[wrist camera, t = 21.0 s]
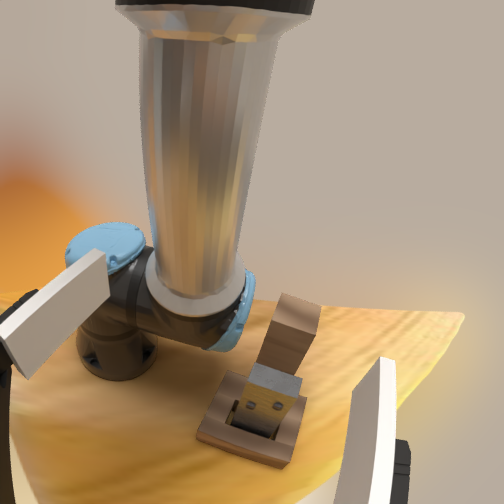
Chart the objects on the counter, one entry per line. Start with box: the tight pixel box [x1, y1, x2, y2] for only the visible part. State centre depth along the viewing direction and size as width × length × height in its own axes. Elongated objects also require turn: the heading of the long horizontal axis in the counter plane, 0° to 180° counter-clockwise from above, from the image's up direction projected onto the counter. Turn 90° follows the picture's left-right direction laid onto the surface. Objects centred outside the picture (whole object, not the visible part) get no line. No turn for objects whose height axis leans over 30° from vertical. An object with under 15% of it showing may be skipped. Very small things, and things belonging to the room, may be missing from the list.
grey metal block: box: [230, 362, 303, 439], centre depth 36 cm, size 4×6×16 cm, turn 72°
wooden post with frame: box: [196, 293, 321, 469], centre depth 39 cm, size 18×14×18 cm
